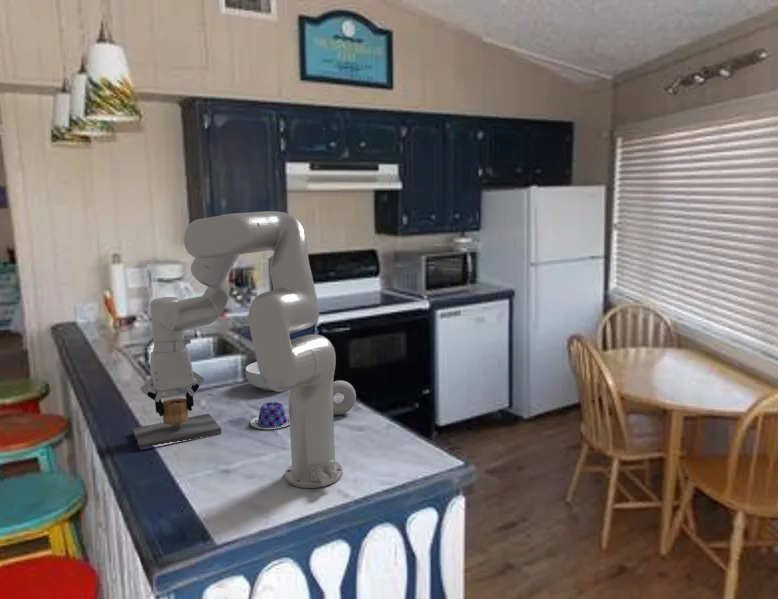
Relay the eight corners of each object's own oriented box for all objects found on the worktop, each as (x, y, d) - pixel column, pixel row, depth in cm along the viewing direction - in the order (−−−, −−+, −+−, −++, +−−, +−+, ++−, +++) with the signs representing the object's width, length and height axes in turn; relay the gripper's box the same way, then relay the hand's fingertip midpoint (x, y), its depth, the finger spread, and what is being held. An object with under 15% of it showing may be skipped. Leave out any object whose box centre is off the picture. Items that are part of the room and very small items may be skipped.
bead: (190, 421, 159) (188, 403, 158) (166, 426, 156) (164, 407, 155) (185, 414, 164) (183, 396, 163) (161, 419, 161) (160, 400, 160)
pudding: (250, 417, 172) (249, 400, 171) (293, 413, 175) (292, 396, 174) (250, 433, 161) (249, 414, 160) (296, 429, 163) (295, 410, 162)
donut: (323, 419, 169) (322, 384, 167) (320, 415, 172) (319, 381, 170) (358, 414, 172) (357, 380, 170) (354, 410, 175) (353, 376, 174)
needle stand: (221, 433, 160) (219, 402, 159) (140, 451, 150) (137, 418, 149) (209, 418, 171) (207, 389, 170) (132, 433, 161) (129, 403, 160)
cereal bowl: (246, 397, 189) (244, 375, 187) (247, 381, 205) (245, 361, 204) (301, 392, 192) (300, 370, 191) (298, 377, 208) (297, 357, 207)
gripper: (200, 338, 164) (205, 401, 167) (131, 347, 156) (137, 414, 159) (207, 343, 158) (212, 409, 161) (135, 353, 149) (142, 423, 152)
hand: (175, 411), depth 160 cm, fingers open, 6 cm apart
